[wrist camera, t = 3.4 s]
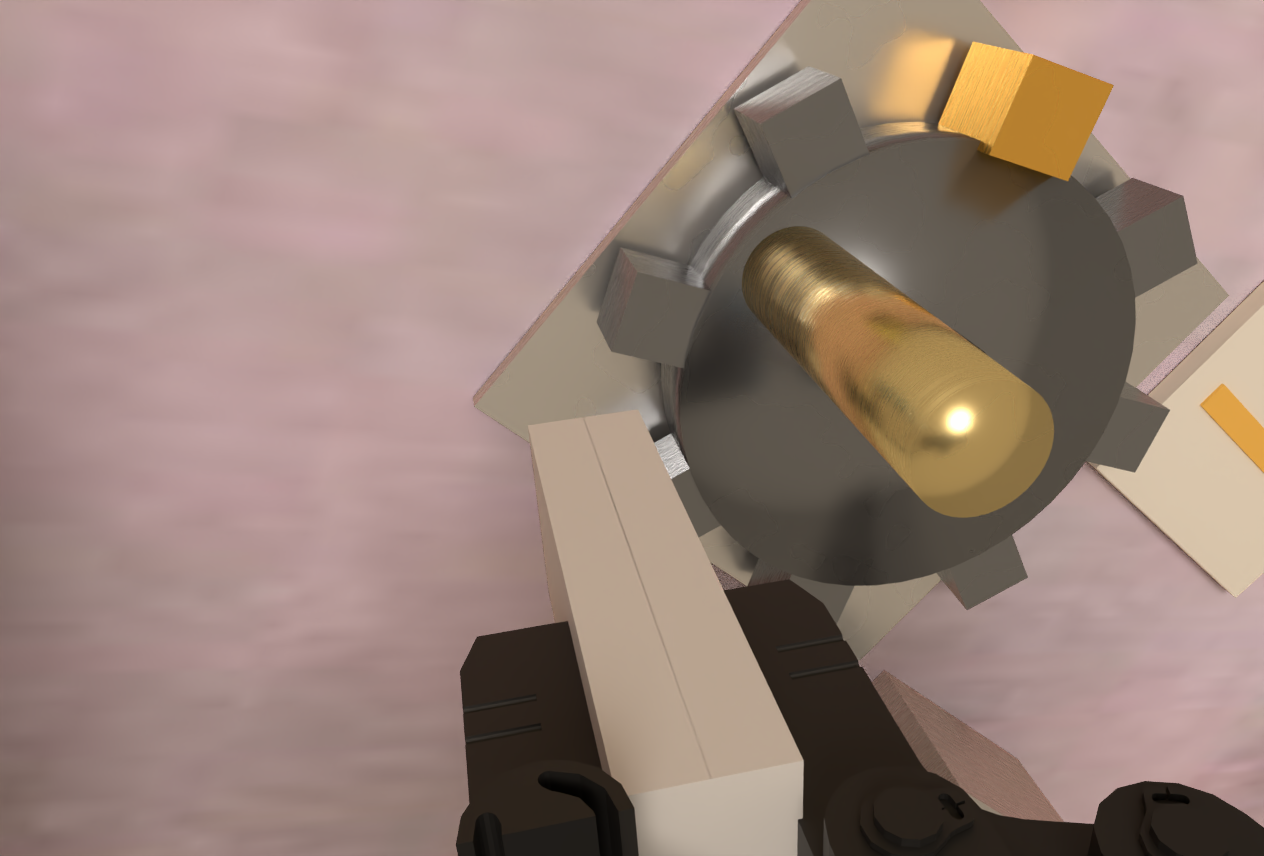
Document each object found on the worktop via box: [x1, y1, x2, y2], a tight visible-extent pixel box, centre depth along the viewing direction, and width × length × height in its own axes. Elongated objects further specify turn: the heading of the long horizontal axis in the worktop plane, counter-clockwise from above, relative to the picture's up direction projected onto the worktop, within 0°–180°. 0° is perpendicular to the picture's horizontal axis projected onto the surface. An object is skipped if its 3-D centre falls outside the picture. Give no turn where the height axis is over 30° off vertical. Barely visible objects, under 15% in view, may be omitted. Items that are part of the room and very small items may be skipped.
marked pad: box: [1088, 281, 1264, 598], centre depth 30 cm, size 7×8×1 cm
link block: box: [872, 670, 1064, 822], centre depth 31 cm, size 4×7×5 cm, turn 49°
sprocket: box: [597, 42, 1198, 625], centre depth 21 cm, size 14×14×10 cm
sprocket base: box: [473, 0, 1229, 661], centre depth 26 cm, size 14×14×1 cm
